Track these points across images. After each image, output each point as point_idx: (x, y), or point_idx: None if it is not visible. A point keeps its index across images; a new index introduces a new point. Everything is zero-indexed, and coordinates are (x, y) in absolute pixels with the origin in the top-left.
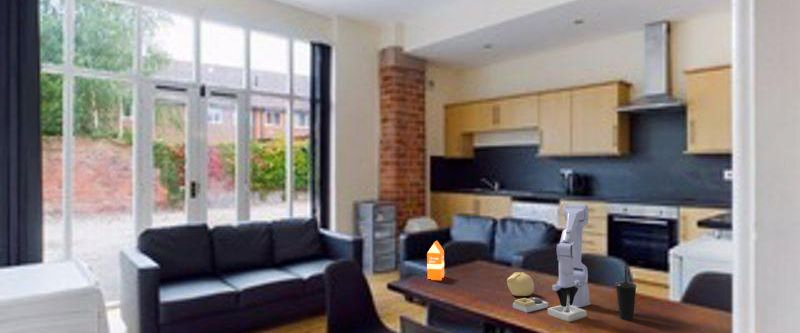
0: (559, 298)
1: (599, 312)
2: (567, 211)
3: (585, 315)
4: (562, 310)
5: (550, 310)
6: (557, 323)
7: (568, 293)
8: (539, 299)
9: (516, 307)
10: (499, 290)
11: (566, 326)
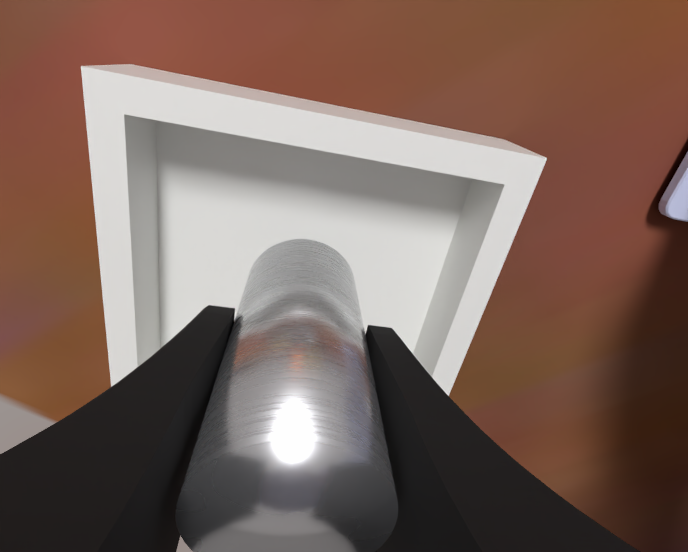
0: (130, 387)
1: (616, 403)
2: None
3: None
4: (252, 270)
5: (99, 137)
6: (5, 326)
7: (408, 524)
8: None
9: None
10: None
11: (32, 411)
